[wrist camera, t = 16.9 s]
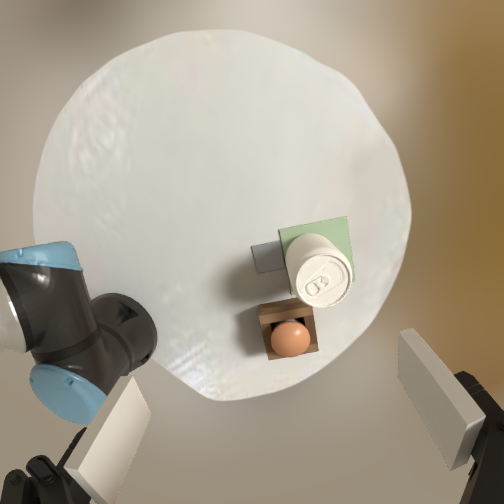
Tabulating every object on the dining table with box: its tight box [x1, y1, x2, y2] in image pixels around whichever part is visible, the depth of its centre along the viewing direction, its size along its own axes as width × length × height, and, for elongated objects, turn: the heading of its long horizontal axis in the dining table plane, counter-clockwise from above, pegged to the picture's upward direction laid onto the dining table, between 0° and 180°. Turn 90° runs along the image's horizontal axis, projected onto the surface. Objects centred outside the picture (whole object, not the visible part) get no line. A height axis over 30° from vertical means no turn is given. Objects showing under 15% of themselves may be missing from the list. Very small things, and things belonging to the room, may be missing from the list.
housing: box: [258, 297, 319, 360], centre depth 50 cm, size 8×8×4 cm
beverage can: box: [285, 233, 352, 308], centre depth 44 cm, size 8×8×12 cm
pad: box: [279, 216, 355, 294], centre depth 50 cm, size 11×11×1 cm
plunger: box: [271, 318, 310, 357], centre depth 49 cm, size 6×6×6 cm
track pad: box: [252, 241, 285, 273], centre depth 50 cm, size 4×4×1 cm
